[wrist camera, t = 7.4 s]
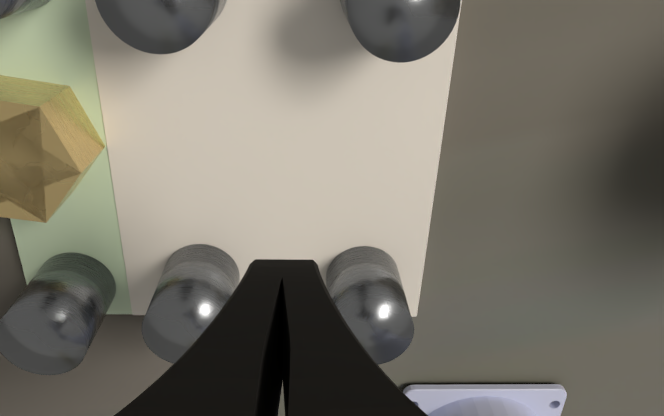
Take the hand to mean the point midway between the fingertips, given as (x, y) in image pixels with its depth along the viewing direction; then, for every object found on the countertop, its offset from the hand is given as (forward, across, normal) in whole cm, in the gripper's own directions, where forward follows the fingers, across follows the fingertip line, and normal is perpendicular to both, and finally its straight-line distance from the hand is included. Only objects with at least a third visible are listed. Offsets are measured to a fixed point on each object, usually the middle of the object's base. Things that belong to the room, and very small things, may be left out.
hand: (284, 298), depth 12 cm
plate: (+10, +2, 0) cm, 10 cm away
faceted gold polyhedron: (+9, +9, 0) cm, 13 cm away
